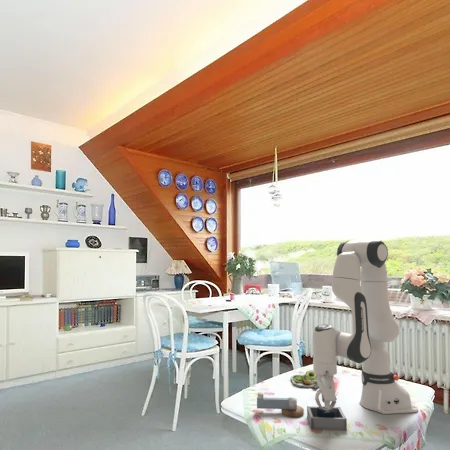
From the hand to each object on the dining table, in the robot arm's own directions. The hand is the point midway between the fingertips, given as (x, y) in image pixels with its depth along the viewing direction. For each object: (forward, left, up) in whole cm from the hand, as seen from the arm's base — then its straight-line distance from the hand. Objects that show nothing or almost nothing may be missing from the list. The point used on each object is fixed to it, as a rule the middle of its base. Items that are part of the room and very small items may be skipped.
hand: (325, 404), depth 148 cm
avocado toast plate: (0, -47, -8) cm, 48 cm away
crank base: (+12, -9, -7) cm, 17 cm away
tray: (0, 0, -7) cm, 7 cm away
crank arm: (+18, -9, -5) cm, 21 cm away
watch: (0, 0, -5) cm, 5 cm away
